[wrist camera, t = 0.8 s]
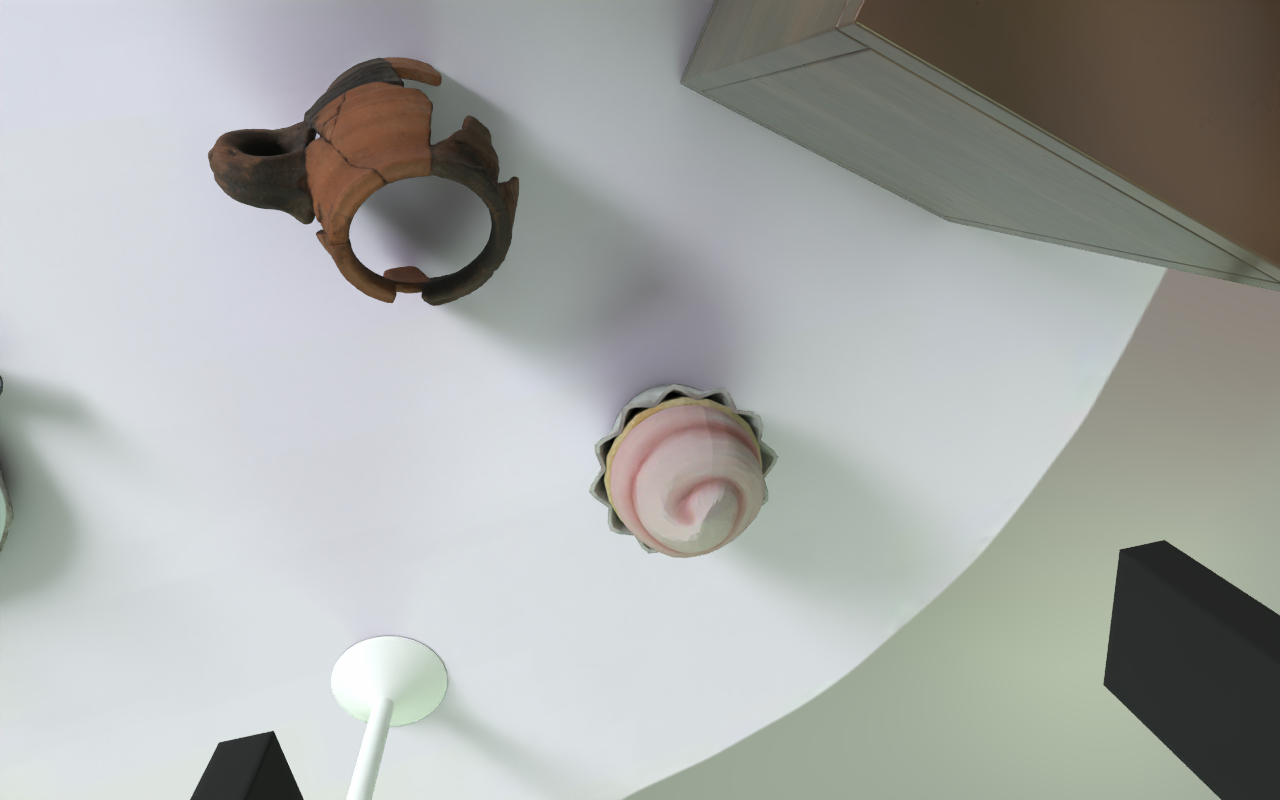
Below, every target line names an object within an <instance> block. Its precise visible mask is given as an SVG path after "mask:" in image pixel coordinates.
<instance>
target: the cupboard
mask: <svg viewBox="0 0 1280 800" xmlns="http://www.w3.org/2000/svg"><path fill="white" fill-rule="evenodd" d="M680 83H681V84H682V85H684V86H686V87H688V88H690V89H692V90H694V91H696V92H698V93H700V94H702V95H704V96H706V97H708V98H710V99H712V100H713V101H715V102H717V103H719V104H721V105H723V106H725V107H727V108H729V109H731V110H733V111H735V112H737V113H739V114H741V115H743V116H745V117H747V118H749V119H750V120H752V121H754V122H756V123H758V124H760V125H762V126H764V127H766V128H768V129H770V130H772V131H774V132H776V133H778V134H780V135H782V136H784V137H786V138H787V139H789V140H791V141H793V142H795V143H797V144H799V145H801V146H803V147H805V148H807V149H809V150H811V151H813V152H815V153H817V154H819V155H821V156H823V157H824V158H826V159H828V160H830V161H832V162H834V163H836V164H838V165H840V166H842V167H844V168H846V169H848V170H850V171H852V172H854V173H856V174H858V175H860V176H861V177H863V178H865V179H867V180H869V181H871V182H873V183H875V184H877V185H879V186H881V187H883V188H885V189H887V190H889V191H891V192H893V193H895V194H897V195H898V196H900V197H902V198H904V199H906V200H908V201H910V202H912V203H914V204H916V205H918V206H920V207H922V208H924V209H926V210H928V211H930V212H932V213H934V214H935V215H937V216H939V217H941V218H943V219H945V220H947V221H949V222H954V223H959V224H964V225H968V226H973V227H978V228H982V229H987V230H992V231H997V232H1001V233H1006V234H1011V235H1015V236H1020V237H1025V238H1030V239H1034V240H1039V241H1044V242H1049V243H1053V244H1058V245H1063V246H1067V247H1072V248H1077V249H1082V250H1086V251H1091V252H1096V253H1100V254H1105V255H1110V256H1115V257H1119V258H1124V259H1129V260H1134V261H1138V262H1143V263H1148V264H1152V265H1157V266H1162V267H1167V268H1171V269H1176V270H1181V271H1185V272H1190V273H1195V274H1200V275H1204V276H1209V277H1214V278H1219V279H1223V280H1229V281H1233V282H1238V283H1242V284H1247V285H1252V286H1257V287H1261V288H1266V289H1271V290H1275V291H1280V0H714V3H713V5H712V8H711V10H710V12H709V15H708V17H707V19H706V22H705V24H704V26H703V29H702V31H701V33H700V36H699V38H698V40H697V43H696V45H695V47H694V50H693V52H692V54H691V57H690V59H689V61H688V64H687V66H686V68H685V71H684V73H683V75H682V78H681V80H680Z"/></svg>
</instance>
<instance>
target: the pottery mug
mask: <svg viewBox="0 0 1280 800" xmlns="http://www.w3.org/2000/svg"><path fill="white" fill-rule="evenodd" d="M401 78H403V79H410V80H415V81H419V82H423V83H427V84H430V85H433V86H439V85H440V84H441V81H442V77H441V75H440V73H439V72H438V71H436V70H435V69H434V68H433V67H432V66H430V65H429V64H426V63H423V62H421V61H417V60H413V59H407V58H398V57H397V58H395V57H393V58H390V57H389V58H376V59H372V60H368V61H365V62H362V63H359V64H357V65H355V66H353V67H352V68H350V69H348V70H347V71H345V72H344V73H342V74H341V75H340V76H339V77H338V78H337V79H336V80H335V81H334V82H333V83H332V84H331V85H330V87H329V88H328V90H327V92H326V93H325V94H323V95H322V96H321V97H320V98H319V99H318V100H317V101H316V102H315V104H314V105H313V106H312V108H311V109H309V110H308V111H307V112H306V113H305V117H304V121H303V122H301V123H297V124H295V125H293V126H291V127H287V128H282V129H276V130H268V129H244V130H237V131H231V132H228V133H225V134H224V135H222V136H220V137H219V138H218V140H217V141H216V143H215V145H214V147H213V148H212V150H210V151H209V153H208V158H209V162H210V167H211V169H212V171H213V172H214V178H215V181H216V182H217V184H218V185H219V186H220V187H221V188H222V190H223V191H224V192H225V193H226V194H227V195H229V196H230V197H231V198H233V199H235V200H236V201H239V202H241V203H244V204H247V205H250V206H254V207H257V208H263V209H275V210H281V211H284V212H286V213H289V214H290V215H292V216H293V217H295V218H296V219H297V220H298V221H300V222H301V223H303V224H310V223H312V221H313V220H314V218H315V215H316V218H317V221H318V222H319V223H321V225H322V227H323V229H324V230H320V231H318V232H317V233H316V235H317V238H318V239H319V241H320V242H321V244H322V245H323V246H324V248H325V249H326V250H327V251H328V253H329V254H330V255H331V256H332V258H333V260H334V261H335V263H336V265H337V267H338V269H339V270H340V272H341V273H342V275H343V276H344V277H345V278H346V280H347V281H348V282H350V283H351V284H352V285H353V286H355V287H356V288H357V289H358V290H360V291H362V292H363V293H364V294H366V295H368V296H370V297H373V298H375V299H378V300H380V301H383V302H387V303H393V302H394V300H395V297H396V292H403V293H418V292H422V298H423V300H424V301H425V302H427V303H429V304H430V305H433V306H435V305H441V304H444V303H449V302H452V301H454V300H457V299H458V298H461V297H463V296H465V295H468V294H470V293H471V292H473V291H475V290H476V289H478V288H479V287H481V286H482V285H483V284H484V283H485V282H486V281H487V280H488V279H489V278H490V277H491V276H492V275H493V272H494V271H495V270H497V269H498V268H499V266H500V265H501V263H502V262H503V261H504V260H505V257H506V254H507V252H508V249H509V246H510V244H511V239H512V228H513V223H514V218H515V212H516V207H517V200H518V195H519V178H518V177H515V176H514V177H512V178H511V179H510V180H509V181H508V182H503V183H498V175H499V163H498V156H497V154H496V152H495V150H494V148H493V146H492V144H491V134H490V132H489V130H488V129H487V128H486V127H485V126H484V125H483V124H482V123H480V122H479V121H478V120H477V119H476V118H474V117H472V116H466V117H465V119H464V121H463V125H462V130H459V131H457V132H455V133H453V134H452V135H451V136H450V137H449V138H447V139H445V140H443V141H441V142H439V143H437V144H435V145H431V144H430V138H431V114H432V110H433V104H432V102H431V101H430V100H429V99H428V97H427V96H426V95H425V94H424V93H423V92H422V91H420V90H418V89H413V88H404V82H403V81H402V79H401ZM316 133H318V134H319V135H320V138H318V139H316V140H315V136H316ZM431 175H435V176H439V177H442V178H446V179H450V180H453V181H456V182H458V183H461V184H463V185H465V186H466V187H468V188H469V189H471V190H472V191H473V192H475V193H476V194H477V195H478V196H479V197H480V198H481V199H482V200H483V202H484V203H485V204H486V206H487V207H488V208H489V211H490V215H491V221H492V228H491V233H490V237H489V240H488V242H487V244H486V246H485V248H484V249H483V251H482V252H481V253H480V254H479V255H478V256H477V258H476V259H474V260H473V261H472V262H471V263H470V264H469V265H467V266H466V267H464V268H463V269H461V270H460V271H458V272H456V273H453V274H449V275H445V276H441V277H434V278H428V277H427V276H426V275H425V274H424V273H422V272H421V271H420V270H419V269H418V268H416V267H412V266H408V267H399V268H393V269H389V270H386V271H385V272H384V276H380V275H378V274H376V273H374V272H373V271H371V270H369V269H368V268H367V267H365V266H364V265H363V264H362V263H361V262H360V261H359V260H358V258H357V257H356V256H355V254H354V252H353V250H352V248H351V243H350V239H349V229H350V224H351V222H352V219H353V217H354V215H355V213H356V211H357V210H358V208H359V207H360V206H361V204H362V203H363V202H364V201H365V200H366V199H367V198H368V197H369V196H370V195H372V194H373V193H374V192H376V191H377V190H379V189H380V188H382V187H384V186H385V185H387V184H389V183H393V182H395V181H398V180H402V179H406V178H412V177H424V176H431Z"/></svg>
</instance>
